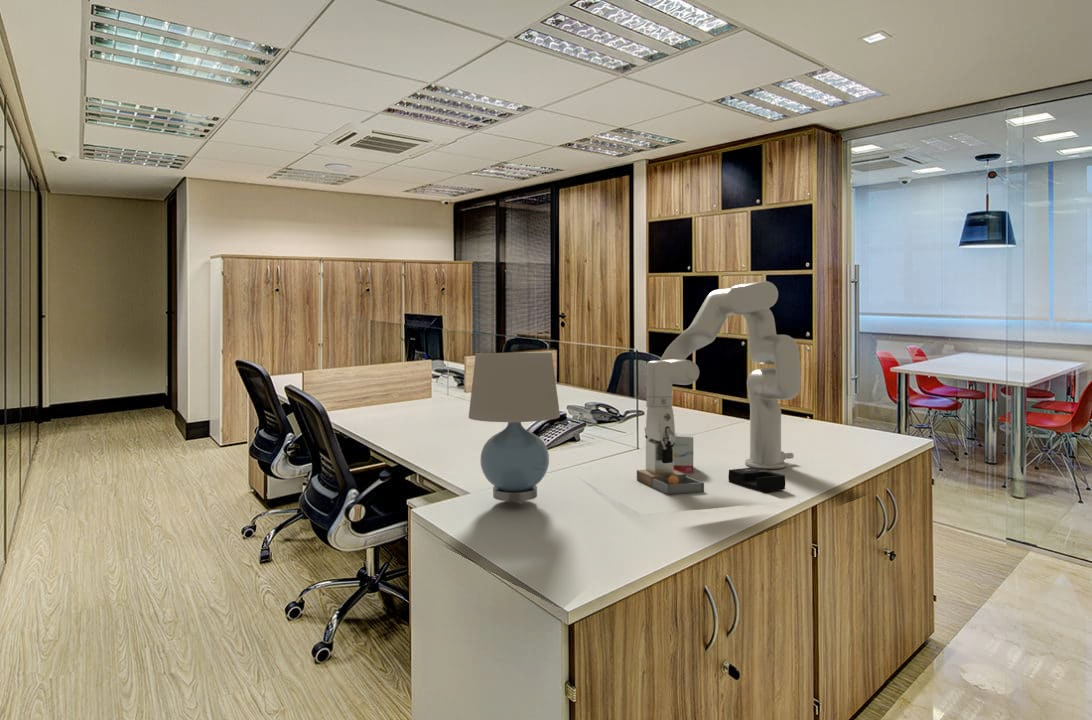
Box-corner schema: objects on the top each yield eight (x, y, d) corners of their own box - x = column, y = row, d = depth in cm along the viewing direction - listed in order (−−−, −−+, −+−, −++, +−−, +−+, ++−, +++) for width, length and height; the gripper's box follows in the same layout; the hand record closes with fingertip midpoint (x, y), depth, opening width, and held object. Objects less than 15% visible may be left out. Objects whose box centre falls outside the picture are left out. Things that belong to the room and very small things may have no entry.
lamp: (527, 512, 149) (526, 353, 148) (450, 500, 162) (448, 353, 161) (577, 492, 170) (576, 352, 169) (504, 482, 183) (503, 352, 182)
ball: (676, 486, 175) (674, 475, 176) (681, 484, 172) (679, 474, 173) (667, 487, 174) (665, 476, 175) (672, 485, 171) (670, 474, 172)
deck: (669, 477, 187) (669, 467, 187) (686, 484, 178) (686, 474, 178) (636, 480, 184) (636, 470, 184) (651, 487, 175) (651, 476, 175)
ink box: (693, 474, 192) (693, 436, 192) (666, 473, 194) (665, 436, 194) (692, 468, 201) (692, 432, 201) (666, 467, 203) (666, 432, 202)
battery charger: (728, 483, 181) (728, 469, 181) (754, 480, 185) (754, 467, 185) (757, 492, 169) (757, 478, 169) (785, 489, 173) (785, 475, 172)
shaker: (663, 468, 186) (663, 436, 186) (673, 472, 180) (673, 439, 180) (645, 470, 184) (645, 437, 184) (655, 474, 178) (654, 440, 178)
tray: (685, 484, 178) (685, 475, 178) (704, 491, 169) (704, 482, 169) (651, 487, 175) (651, 478, 175) (668, 495, 166) (668, 485, 166)
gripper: (685, 404, 174) (685, 464, 175) (657, 399, 191) (657, 454, 191) (661, 405, 172) (661, 466, 172) (635, 400, 189) (635, 455, 189)
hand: (659, 459), depth 182 cm, fingers open, 9 cm apart
